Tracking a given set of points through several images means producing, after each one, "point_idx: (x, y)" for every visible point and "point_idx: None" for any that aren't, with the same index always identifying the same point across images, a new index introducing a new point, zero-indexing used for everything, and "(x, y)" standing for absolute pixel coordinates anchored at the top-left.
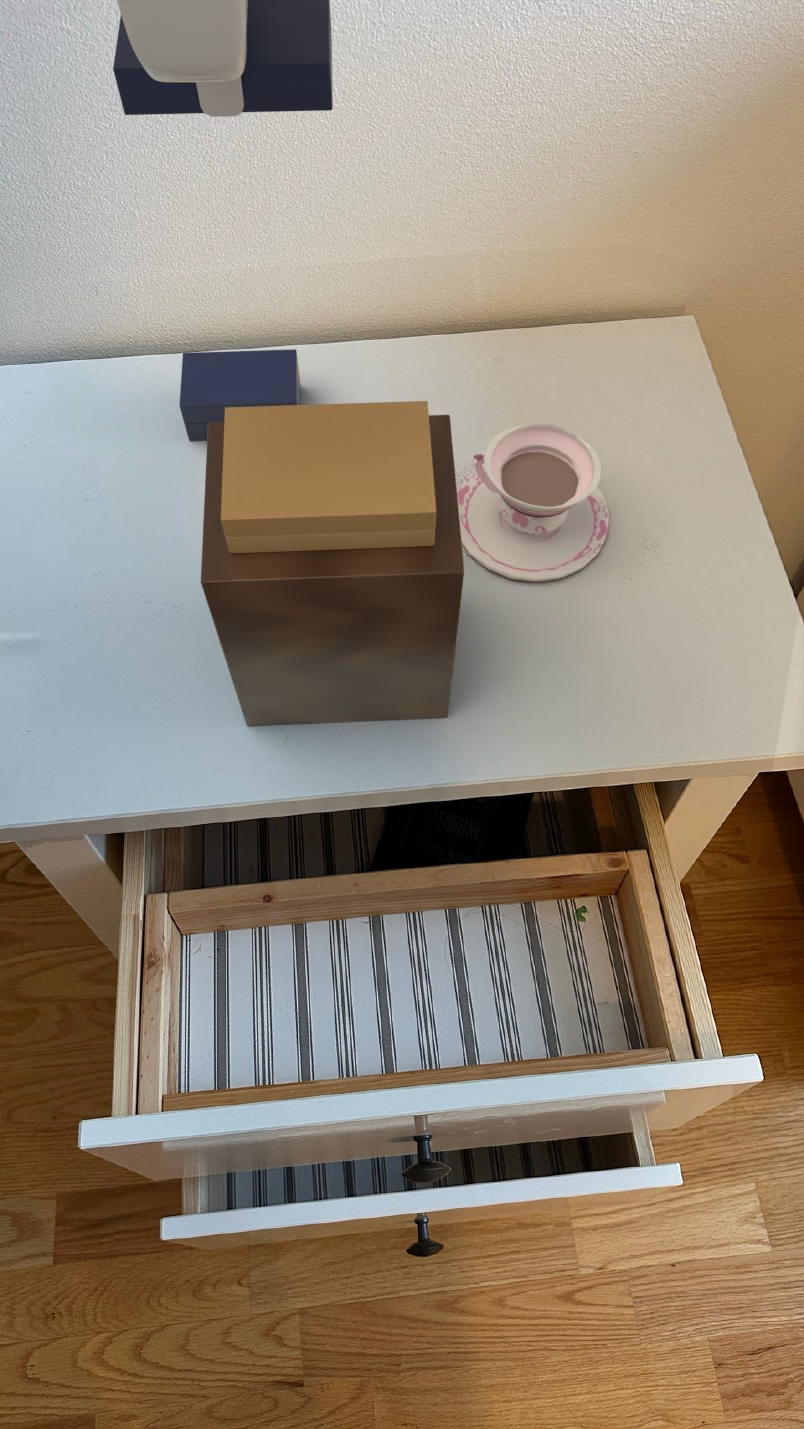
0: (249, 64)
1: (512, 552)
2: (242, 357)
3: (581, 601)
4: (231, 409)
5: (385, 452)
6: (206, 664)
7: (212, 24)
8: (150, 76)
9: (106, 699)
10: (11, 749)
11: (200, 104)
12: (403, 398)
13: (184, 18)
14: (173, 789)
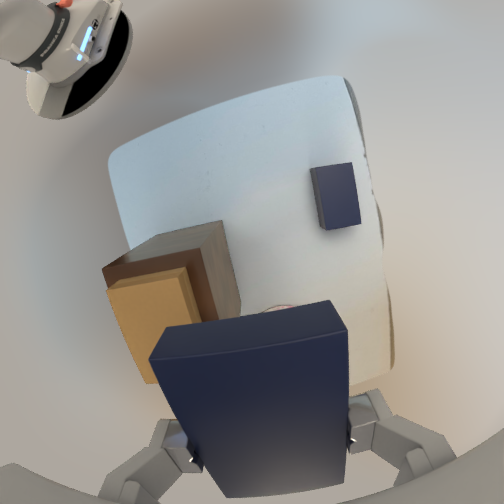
0: (207, 466)
1: None
2: (353, 195)
3: None
4: (177, 281)
5: None
6: (180, 209)
7: None
8: (11, 463)
9: (156, 170)
10: (130, 141)
11: (158, 423)
12: (348, 272)
13: None
14: (125, 212)
